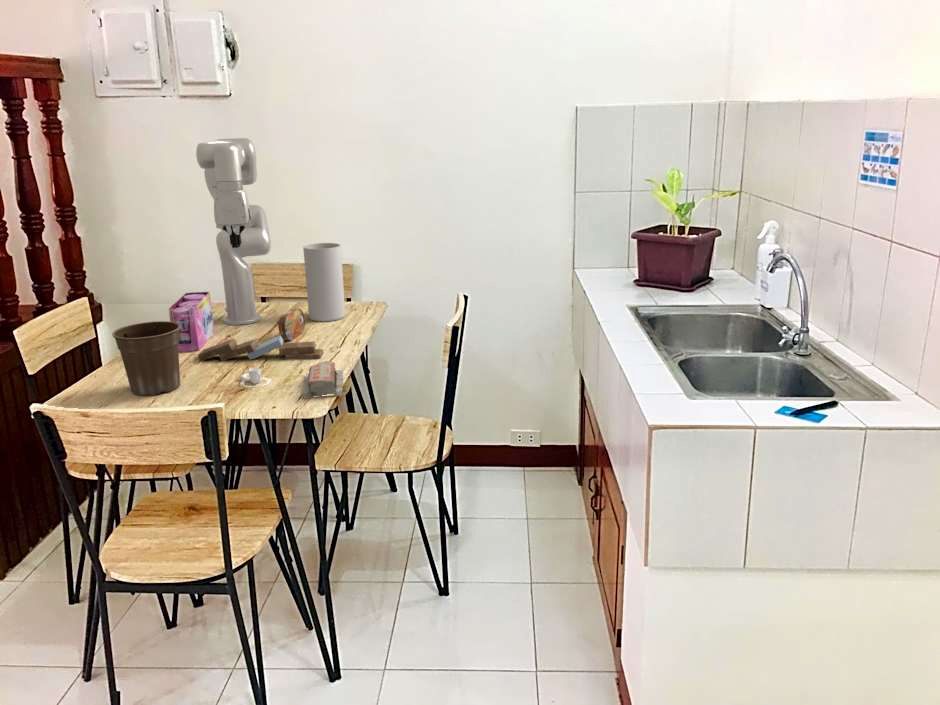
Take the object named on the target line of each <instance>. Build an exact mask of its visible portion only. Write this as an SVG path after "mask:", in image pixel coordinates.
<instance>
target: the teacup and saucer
mask: <svg viewBox="0 0 940 705" xmlns="http://www.w3.org/2000/svg"><path fill="white" fill-rule="evenodd" d="M240 379H241V381H240V383H239V385H240V386H241V387H243V388H261V387H264V386H266V385H269V384H271V382H272V379H271V378H268V377H262V368H261V367H251V368H249V369H248V372H247V373H243V374H241V376H240ZM261 380H265V381H266V382H265V383H263V384H260V383H261ZM246 382H249V383H250V382H251V384H253V385H246V384H245V383H246ZM256 384H260V385H256Z"/></svg>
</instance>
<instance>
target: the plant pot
mask: <svg viewBox="0 0 940 705" xmlns="http://www.w3.org/2000/svg"><path fill="white" fill-rule="evenodd" d="M179 329H180V325H179V324H178V323H175V322H170V321H167V320H166V321H164V320H163V321H162V320H160V321H159V320H158V321H157V320H156V321H147V322H140V323H139V322H138V323H133V324H130V325H126V326H125V325H124V326H122V327H120V328H117V329H116V330H114V331H113V332H112V333H111V334H112V337H113V338H114V339H115V342H116V346H117V349H118V350H119V352H120V356H121V359H122V362H123V363H122V364H123V366H124V370H125V373H126V377H127V380H128V385H129V388H130V392H131V393H132V394H133V395H137V396H143V397H144V396H146V397H148V396H156V395H161V393H163V392H164V393H169V392H172V391H175V390H176V389H178V388H179V387H180V386H181V373H180V355H179V353H180V352H179V351H178V342H179Z"/></svg>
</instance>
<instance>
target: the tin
mask: <svg viewBox="0 0 940 705" xmlns="http://www.w3.org/2000/svg"><path fill="white" fill-rule="evenodd" d="M277 323H278V324H277V326H278V332H279V336H280V335H281V337H282V339H283V341H285V342H286V341H294V340H295V339H296V338H298V337H300V336H301V335H302V334H303V333H304V332H305V331H304V330H305V327H306V326H305V325H306V320H305V314H304V312H303V310H302V309H301V308H292V309H290V310H288V311H286V312H285V313H284V314H282V315H281V316H280V317H279V319H278V322H277Z"/></svg>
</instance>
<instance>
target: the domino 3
mask: <svg viewBox="0 0 940 705" xmlns="http://www.w3.org/2000/svg"><path fill="white" fill-rule="evenodd" d="M283 343H284V340H283V339H282V337H281V335H280V334H279V335H278V336H275V337H273V338H271V339H269V340H268V339H267V340H266V341H264V342H262V343H258V346H257V348H256V349H255V350H254V351H251V352H248V353H246V355H247V356H248V358H249V360H250V361H252V360H254V359H256V358H258V357H260V356H263V355H265V354H268V353H270V352H272V351H274V350H276V349H279V347H281V346H282V345H283Z"/></svg>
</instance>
